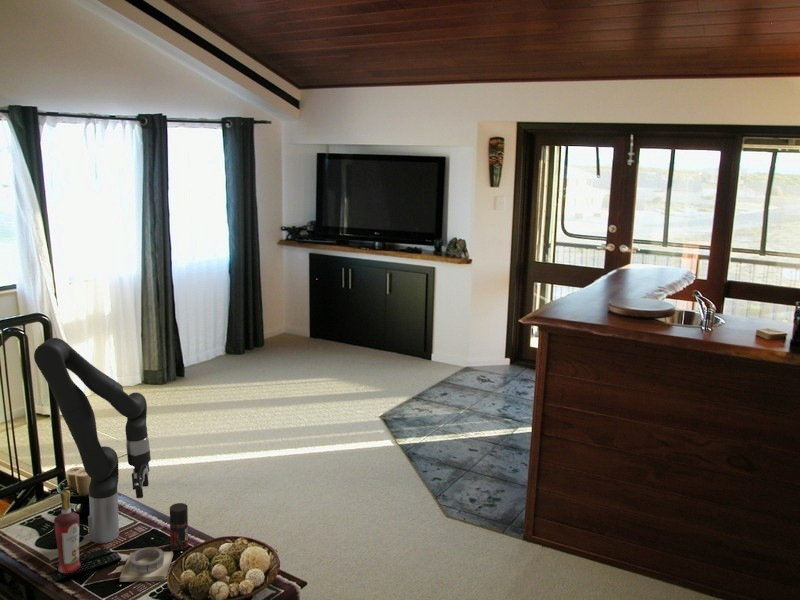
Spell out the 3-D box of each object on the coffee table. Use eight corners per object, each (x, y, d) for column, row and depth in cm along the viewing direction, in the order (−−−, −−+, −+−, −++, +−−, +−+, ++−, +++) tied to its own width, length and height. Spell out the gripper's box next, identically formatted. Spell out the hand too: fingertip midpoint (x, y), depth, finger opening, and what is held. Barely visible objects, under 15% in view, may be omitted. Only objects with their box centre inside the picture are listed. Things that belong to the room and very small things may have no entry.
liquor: (72, 561, 233) (68, 484, 227) (86, 568, 229) (82, 491, 224) (52, 571, 227) (47, 493, 221) (66, 579, 223) (61, 500, 217)
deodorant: (172, 541, 247) (171, 503, 244) (189, 541, 248) (189, 503, 245) (168, 550, 242) (167, 511, 239) (186, 550, 242) (185, 511, 239)
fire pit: (119, 581, 224) (119, 569, 223) (130, 556, 237) (130, 544, 236) (164, 580, 225) (164, 567, 224) (173, 555, 239) (172, 543, 238)
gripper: (132, 441, 249) (136, 483, 253) (121, 459, 235) (126, 502, 239) (153, 440, 250) (157, 481, 254) (144, 457, 236) (149, 501, 240)
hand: (142, 491), depth 246 cm, fingers open, 8 cm apart
